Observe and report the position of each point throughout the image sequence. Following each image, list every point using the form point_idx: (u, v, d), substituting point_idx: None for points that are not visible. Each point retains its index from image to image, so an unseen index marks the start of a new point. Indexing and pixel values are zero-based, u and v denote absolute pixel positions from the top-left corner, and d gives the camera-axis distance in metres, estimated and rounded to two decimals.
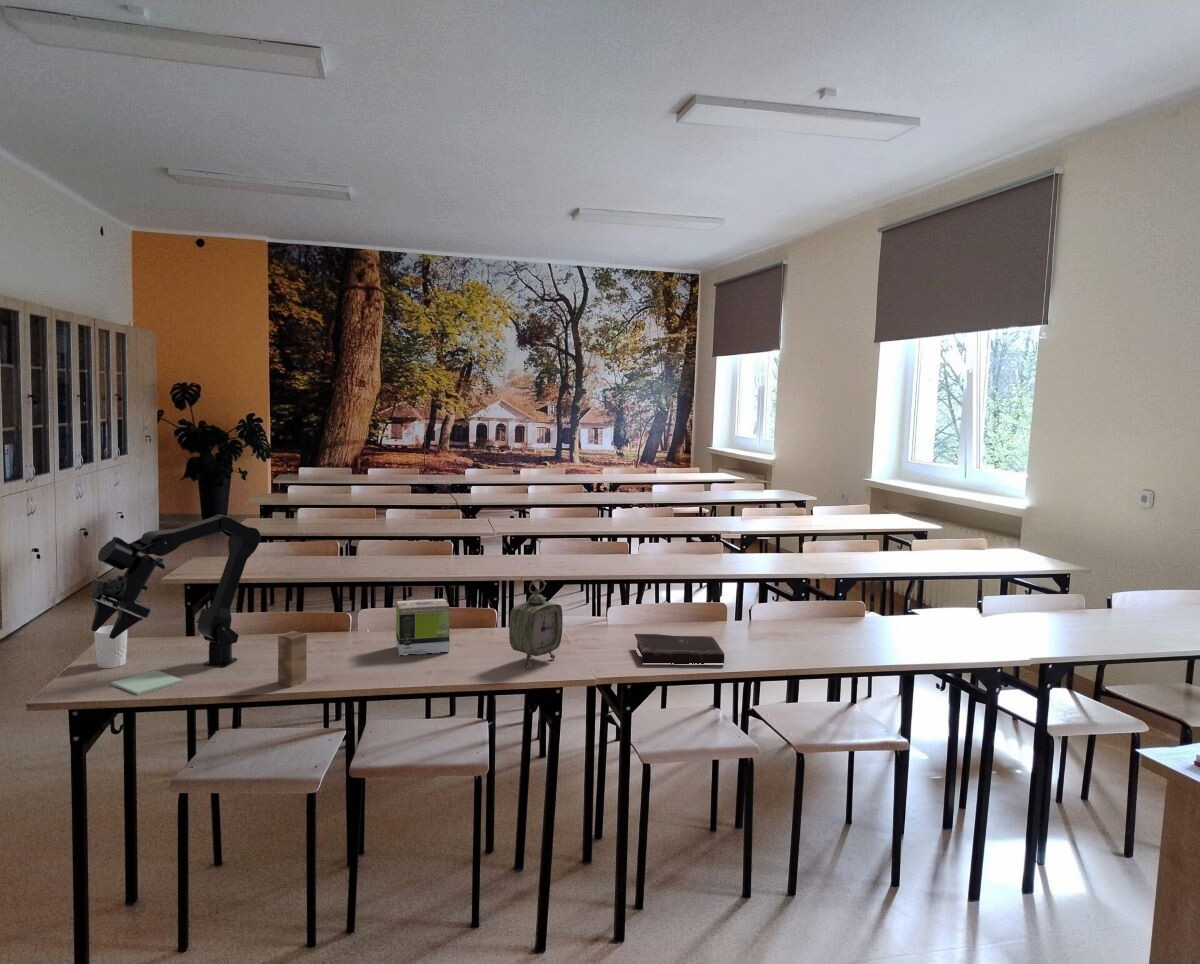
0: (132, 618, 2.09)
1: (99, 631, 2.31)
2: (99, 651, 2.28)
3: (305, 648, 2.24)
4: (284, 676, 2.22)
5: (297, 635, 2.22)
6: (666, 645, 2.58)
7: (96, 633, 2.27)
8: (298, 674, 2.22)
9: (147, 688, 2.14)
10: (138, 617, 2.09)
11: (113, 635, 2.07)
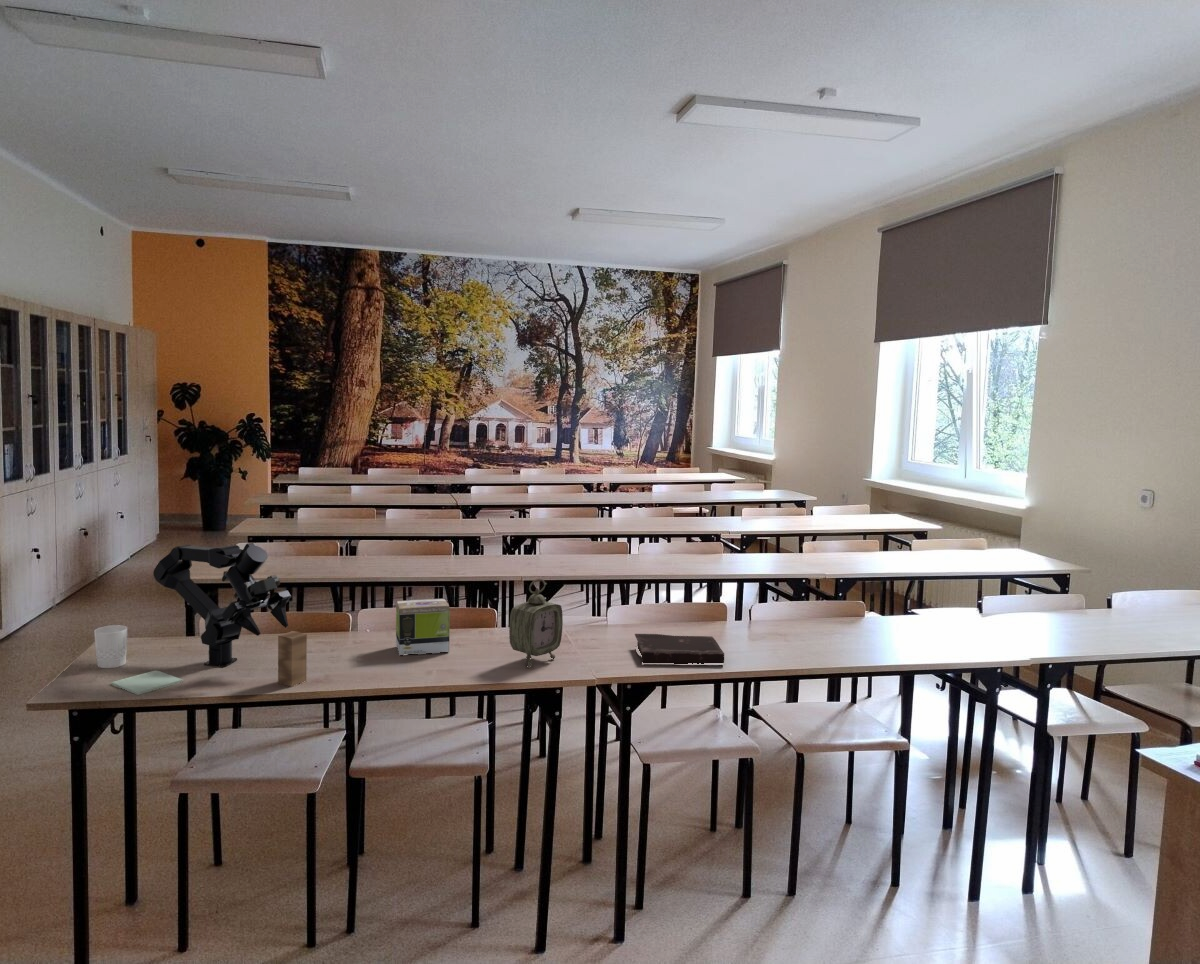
0: None
1: (99, 631, 2.31)
2: (99, 651, 2.28)
3: (305, 648, 2.24)
4: (284, 676, 2.22)
5: (297, 635, 2.22)
6: (666, 645, 2.58)
7: (96, 633, 2.27)
8: (298, 674, 2.22)
9: (147, 688, 2.14)
10: None
11: None
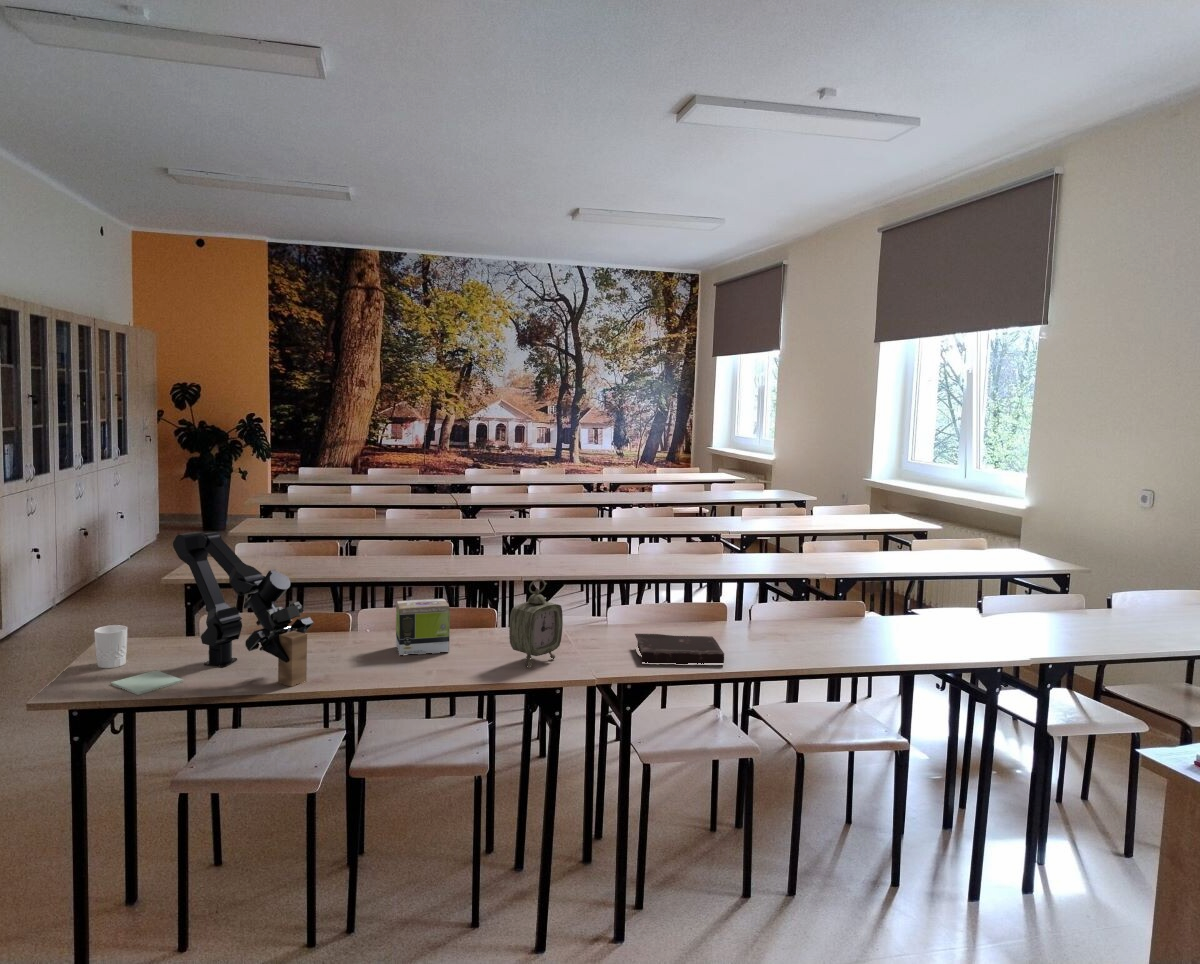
0: None
1: (99, 631, 2.31)
2: (99, 651, 2.28)
3: (305, 648, 2.24)
4: (284, 676, 2.22)
5: (297, 635, 2.22)
6: (666, 645, 2.58)
7: (96, 633, 2.27)
8: (298, 674, 2.23)
9: (147, 688, 2.14)
10: None
11: None
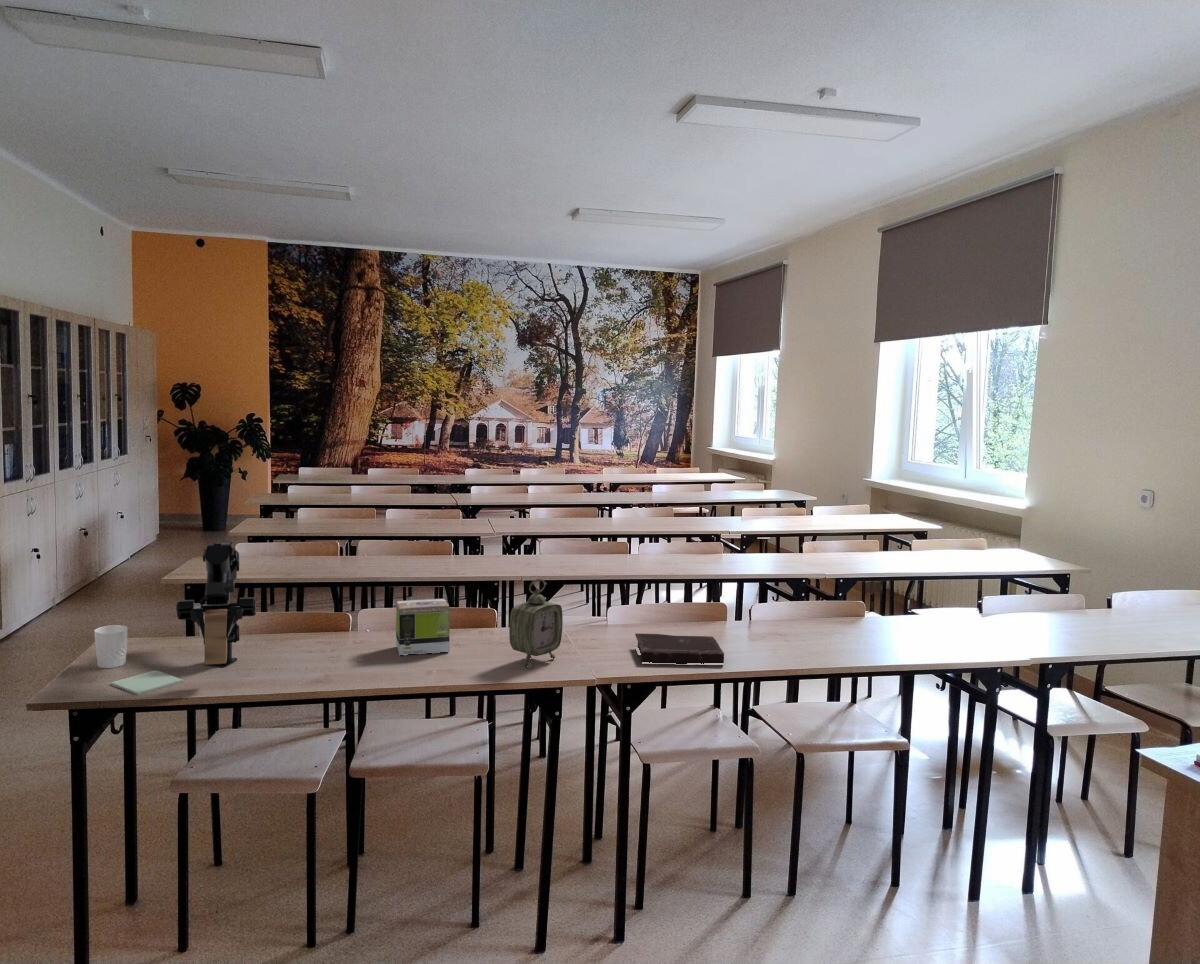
0: (235, 617, 2.22)
1: (99, 631, 2.31)
2: (99, 651, 2.28)
3: (224, 628, 2.16)
4: None
5: (216, 613, 2.16)
6: (666, 645, 2.58)
7: (96, 633, 2.27)
8: (214, 653, 2.16)
9: (147, 688, 2.14)
10: (242, 615, 2.24)
11: (228, 634, 2.18)
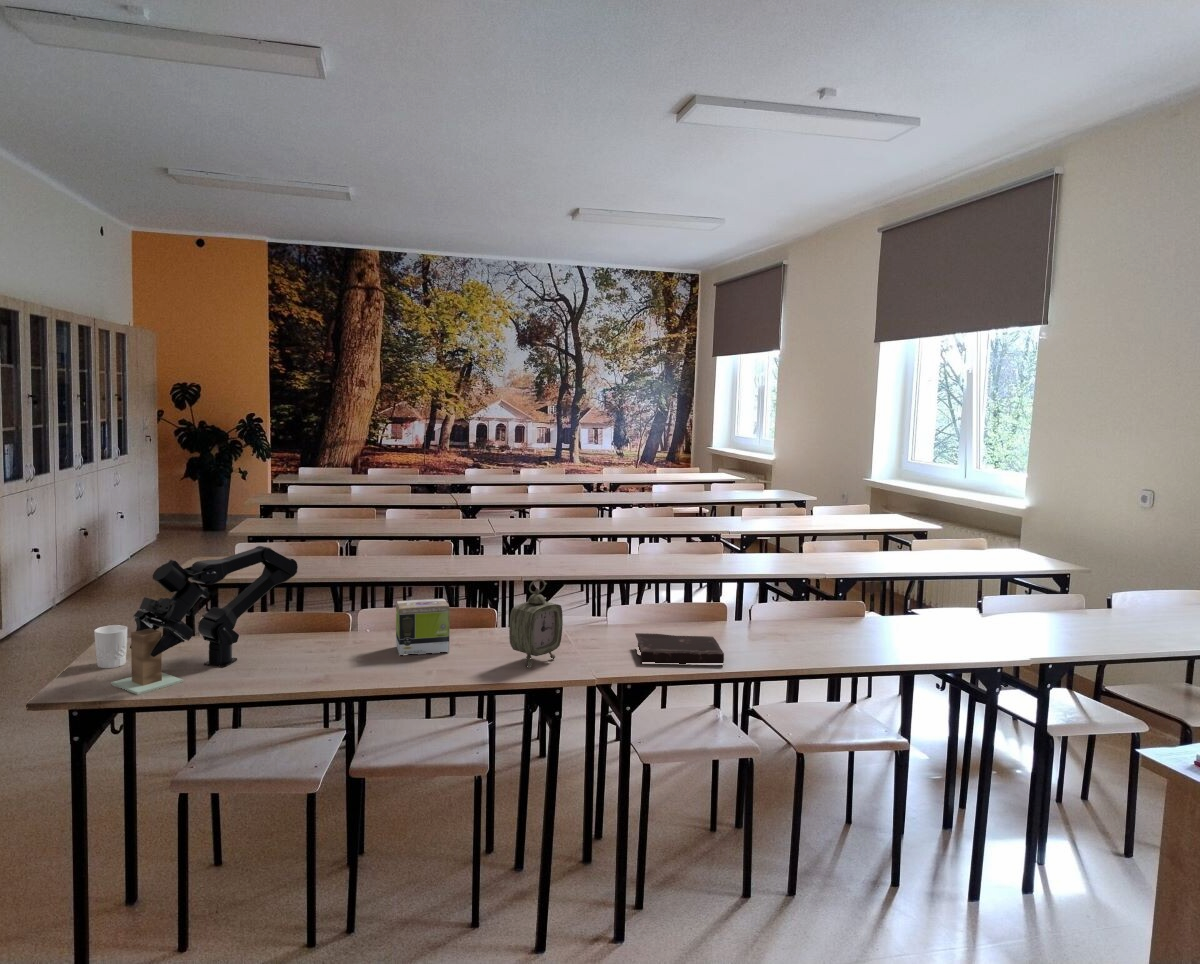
0: (175, 639, 2.18)
1: (99, 631, 2.31)
2: (99, 651, 2.28)
3: (141, 650, 2.15)
4: None
5: (140, 633, 2.16)
6: (666, 645, 2.58)
7: (96, 633, 2.27)
8: (136, 673, 2.17)
9: (147, 688, 2.14)
10: (181, 638, 2.17)
11: (154, 653, 2.15)
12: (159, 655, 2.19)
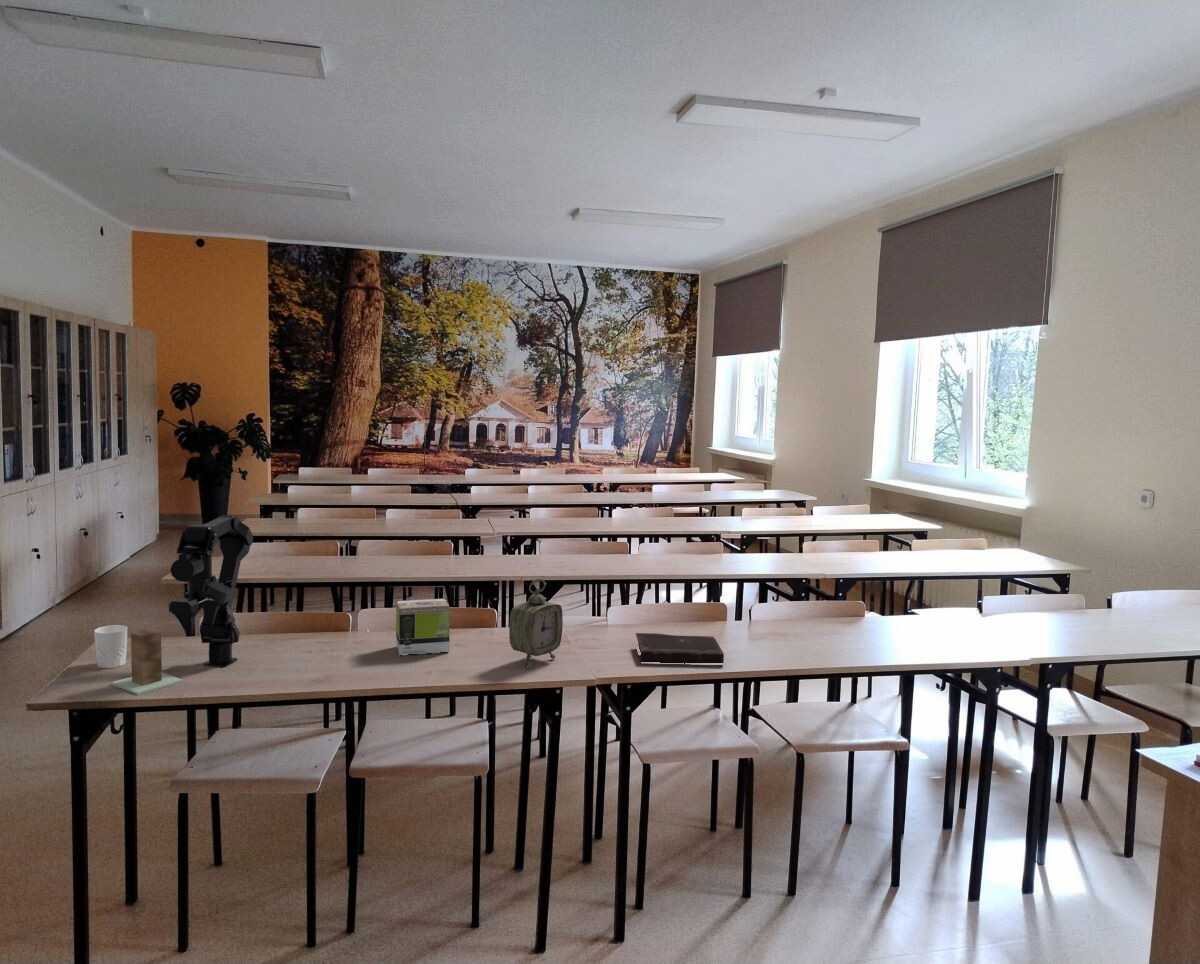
0: None
1: (99, 631, 2.31)
2: (99, 651, 2.28)
3: (141, 650, 2.15)
4: None
5: (140, 633, 2.16)
6: (666, 644, 2.58)
7: (96, 633, 2.27)
8: (136, 673, 2.17)
9: (147, 688, 2.14)
10: None
11: None
12: (159, 655, 2.19)
